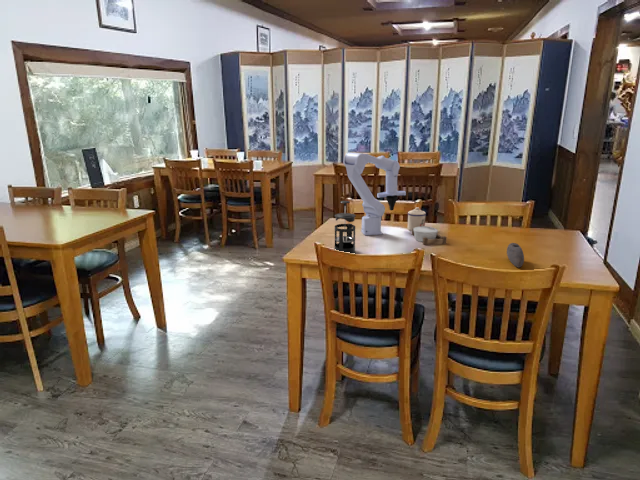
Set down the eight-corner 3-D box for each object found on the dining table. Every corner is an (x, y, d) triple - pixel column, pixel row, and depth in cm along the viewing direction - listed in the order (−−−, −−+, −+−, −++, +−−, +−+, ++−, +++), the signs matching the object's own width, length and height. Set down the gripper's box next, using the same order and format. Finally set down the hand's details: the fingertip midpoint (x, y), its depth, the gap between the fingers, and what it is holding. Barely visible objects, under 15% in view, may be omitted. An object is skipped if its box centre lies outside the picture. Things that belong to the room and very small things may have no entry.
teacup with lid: (423, 232, 222) (424, 210, 219) (405, 230, 226) (406, 208, 222) (427, 226, 233) (428, 205, 229) (410, 225, 236) (411, 203, 233)
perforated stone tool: (526, 270, 170) (528, 253, 168) (511, 269, 171) (513, 252, 169) (518, 258, 184) (520, 242, 182) (505, 257, 185) (506, 241, 183)
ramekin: (441, 239, 211) (442, 229, 209) (428, 244, 203) (429, 233, 202) (421, 235, 218) (421, 224, 217) (408, 239, 211) (409, 229, 209)
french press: (350, 257, 186) (350, 204, 179) (329, 255, 190) (329, 202, 183) (359, 250, 196) (360, 199, 190) (340, 247, 200) (340, 197, 193)
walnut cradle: (424, 245, 203) (424, 238, 202) (411, 235, 218) (412, 228, 217) (446, 243, 204) (446, 237, 203) (432, 234, 220) (432, 227, 219)
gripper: (379, 186, 218) (380, 213, 222) (408, 184, 220) (407, 210, 224) (375, 183, 225) (376, 209, 229) (403, 181, 226) (403, 207, 231)
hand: (391, 209), depth 227 cm, fingers closed
